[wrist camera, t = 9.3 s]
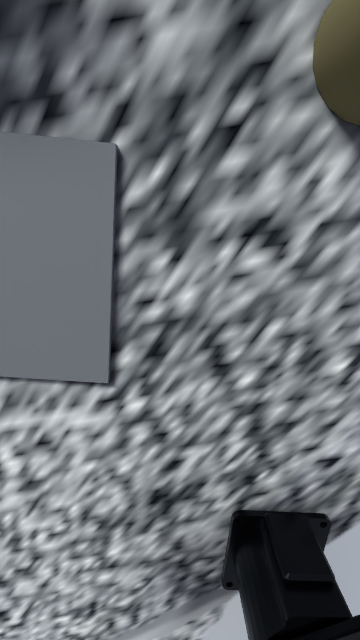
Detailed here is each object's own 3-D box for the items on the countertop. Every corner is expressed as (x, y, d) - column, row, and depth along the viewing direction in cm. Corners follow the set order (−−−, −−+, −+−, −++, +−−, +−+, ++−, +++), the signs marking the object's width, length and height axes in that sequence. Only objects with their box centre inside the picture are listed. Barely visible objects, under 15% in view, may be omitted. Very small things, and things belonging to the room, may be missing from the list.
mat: (109, 378, 19) (108, 383, 19) (-36, 369, 19) (-43, 373, 18) (117, 146, 16) (115, 143, 15) (-60, 127, 15) (-69, 124, 15)
